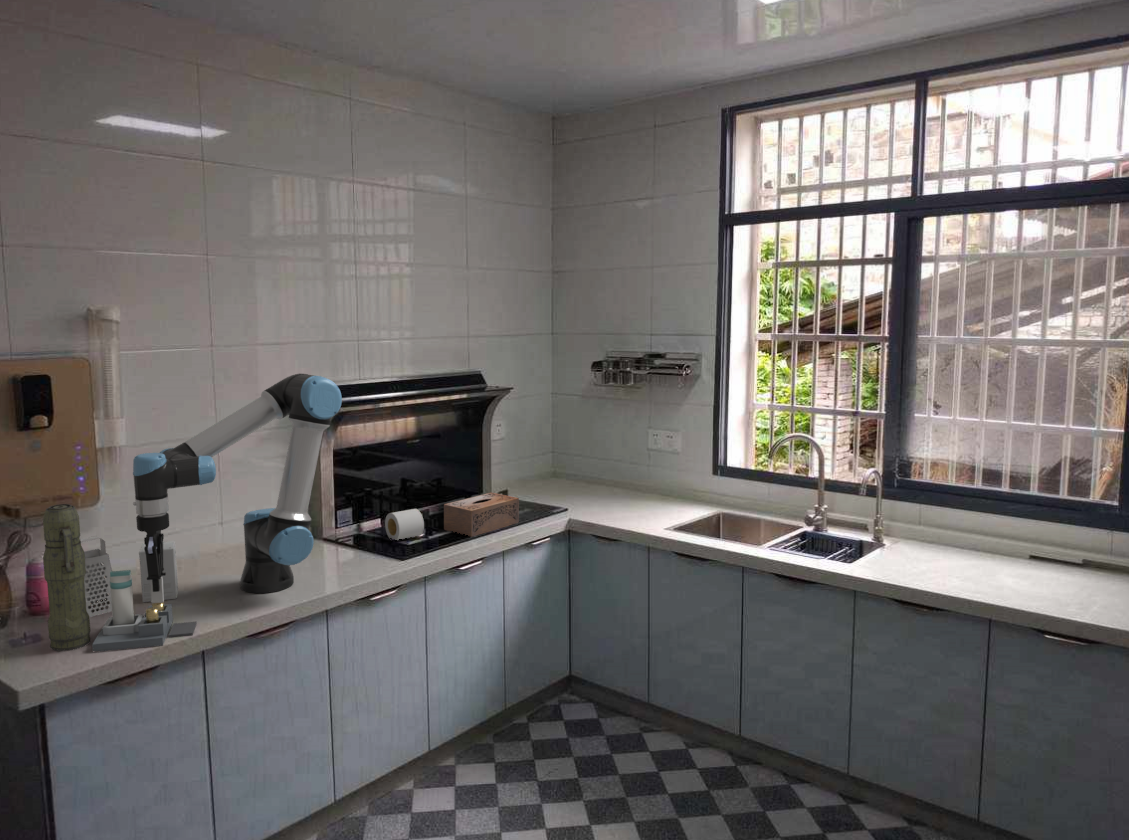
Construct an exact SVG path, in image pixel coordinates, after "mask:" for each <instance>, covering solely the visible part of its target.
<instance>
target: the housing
mask: <svg viewBox="0 0 1129 840" xmlns="http://www.w3.org/2000/svg"><path fill="white" fill-rule="evenodd" d="M172 605H173V603H168V604H167V603H166V604H165V603H164V611H158V614H159V623H149V624H147V622H146V611H145V612H144V613H143V614H140V613H134V624H128V625H117V626H113V616H110V617H108V618H107V619H106V621H105V622H104V624H103V626H102V628H101V630H100V631H99V632H98V634H97V636H96V637H95V639H94V640H93V642H92V645H91V646H92V652H93V651H100V652H109V651H108V650H111V651H119V650H118V649H121V650H128V649H127V648H131V649H140V648H151V647H152V648H153V647H160V646H161V647H162V646H164V644H165V642H166V640H165V639H167V637H168V636H169V633H170V631H171V628H172V626H173V623H174V617H173V606H172ZM151 607H152V605H148V606H147V608H146V609H148V608H151ZM172 622H173V623H172ZM139 647H140V648H139Z"/></svg>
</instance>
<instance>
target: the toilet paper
mask: <svg viewBox="0 0 1129 840" xmlns="http://www.w3.org/2000/svg"><path fill="white" fill-rule="evenodd" d="M384 525H385V526H384V528H385V531H386V535H387V537H388V538H389V539H390V538H392V539H395V540H397V541H400V540H399V539H402V540H406V539H405V538H407V539H411V538H410V537H412V538H416V537H415V536H417V537H420V536H422V535H423V533H424V528H425V521H424V518H423V515H422V513H421V512H420V510H418V509H417V508H411V509H405V510H401V511H400V510H399V511H395V512H394V511H393V512H389V513H387V515H386V517H385V520H384Z"/></svg>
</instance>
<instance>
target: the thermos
mask: <svg viewBox="0 0 1129 840" xmlns="http://www.w3.org/2000/svg"><path fill="white" fill-rule="evenodd" d="M42 523H43V524H42V526H43V538H44V541H45V544H44V553H43V557H42V562H43V563H42V564H43V574H44V575H43V576H44V580H45V582H46V584H47V585H46V586H47V596H48V597H47V598H48V608H49V617H48V620H47V629H48V631H47V632H48V639H49V640H50V642H49V643H50V649H51V650H52V651H57V652H67V651H68V652H69V651H72V650H73V649H74V650H77V648H78V649H80V647H81V648H83V647H86V646H87V645H89V644H90V643H91V636H90V635H91V623H90V622H91V621H90V619H91V617H89V615H88V613H87V611H86V598H85V584H84V576H85V574H86V568H85V554H84V552H85V550H84V548H83V546H82V542H81V541H80V539H81V538H80V537H81V529H80V527H81V526H80V515H79V513H78V511H77V509H76V506H74V505H72V504H67V503H61V504H54V505H50V506H49V507H46V509H45V511H44V514H43V518H42ZM85 645H86V646H85Z"/></svg>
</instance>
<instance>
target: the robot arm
mask: <svg viewBox="0 0 1129 840" xmlns="http://www.w3.org/2000/svg"><path fill="white" fill-rule="evenodd" d="M342 399H343V397H342V393H341V390H340V388H339V386H338V384H336V383H335V382H334V381H333V380H331V379H329V378H327V377H325V376H321V375H313V374H307V373H296V374H292V375H289V376H287V377H285V378H283V379H281V380H279V381H278V382H277V383H275V384H273V385H271V386H269V387H268V388H266V389H265V390H263V391H261V394H260V396H259V397H258V398H256V399H255V400H253V401H251V402H249V403H248V404H246V405H244V406H243V407H241V408H239V409H238V410H236V411H234V412H233V413H232V414H229V415H228V416H226V417H224V418H223V419H221V420H220V421H217V422H216V423H215V424H212V425H211V426H209V427H207V428H206V429H203V430H202V431H201V432H199V433H198V434H196V435H194V436H193V437H191V438H189V439H188V440H186V441H184V442H182V443H180V444H178V445H176V446H175V447H169V448H168V447H167V448H165V449H164V448H163V449H162V450H161V451H159V452H144V453H140V454H136V456H134V458H133V464H132V465H133V466H132V468H133V469H132V476H133V483H134V484H133V485H134V494H135V495H134V496H135V497H134V498H135V501H133V503H132V505H133V506H135V511H136V514H137V516H136V518H135V519H136V529H137V530H138V531H139V532H142V533H143V532H144V533H146V536H145V537H143V538H144V539H143V540H144V543H145V545H146V546H145V548H144V550H145V554H146V561H147V570H148V577H147V580H150V584H151V600H152V601H151V604H152V603H162V602H164V603H165V600H164V592H163V577H161V576H165V575H166V572H165V573H163V572H162V571H164V568H163V542H164V537H165V536H164V533H162V531H164V530H166V529H168V528H169V527H170V515H169V513H168V512H169V510H170V507H169V506H170V505H169V494H168V490H171V489H176V488H178V489H179V488H185V487H192V486H193V487H194V486H203V485H206V484H211V483H213V482H214V481H215V479H216V475H217V469H216V464H215V461H214V458H213V457H215V456H216V455H219V454H220V453H221V452H223V451H225V450H226V449H228V448H230V447H231V446H233V445H234V444H236V443H237V442H240V441H241V440H242V439H245V438H246V437H248V436H250V435H251V434H253V433H254V432H257V430H259V429H261V428H262V427H265V426H266V425H268V424H269V423H270V422H272V421H274V420H275V419H276V420H282V419H284V418H285V417H288V420H289V421H290V423H291V425H292V427H291V432H290V436H289V438H290V439H289V442H288V443H289V444H288V447H287V452H286V458H285V463H284V467H283V473H282V478H281V483H280V487H279V491H278V497H277V504H276V507H273V508H272V507H270V508H261V509H255V510H251V511H248V512H247V513H245V514H244V517H243V524H242V525H243V532H244V533H243V534H244V535H243V536H244V551H245V552H244V554H245V563H244V566H243V569H242V573H241V577H240V583H239V585H240V589H241V591H244V592H248V593H254V594H255V593H256V594H265V593H273V592H274V593H275V592H279V591H282V590H286V589H288V588H290V587H291V586H293V585H294V582H295V579H294V572H293V570H292V568H291V566H294V565H297V564H300V563H302V562H303V561H304V560H306V559H307V558H308V557H309V555H310V554H311V553H312V550H313V548H314V544H315V543H314V536H313V534H312V532H311V531H310V528H311V524H312V523H311V522H312V518H311V516H310V514H309V513H308V510H309V504H310V499H311V495H312V490H313V485H314V479H315V473H316V469H317V464H318V459H319V455H320V450H321V444H322V441H323V440H322V439H323V433H324V431H325V430H326V429H328V428H329V427H331V423H332V417H334V416H335V415H336V414H338V413H339V412H340V409H341V408H342V407H341V406H342V404H343V402H342V401H343V400H342ZM144 543H143V544H144Z"/></svg>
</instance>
